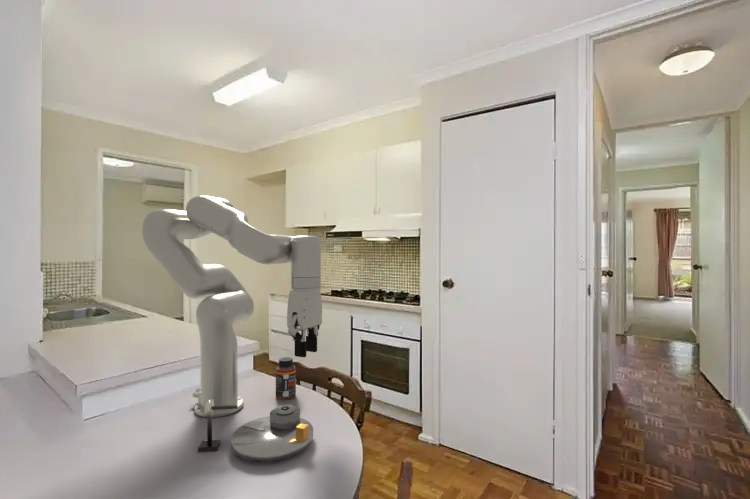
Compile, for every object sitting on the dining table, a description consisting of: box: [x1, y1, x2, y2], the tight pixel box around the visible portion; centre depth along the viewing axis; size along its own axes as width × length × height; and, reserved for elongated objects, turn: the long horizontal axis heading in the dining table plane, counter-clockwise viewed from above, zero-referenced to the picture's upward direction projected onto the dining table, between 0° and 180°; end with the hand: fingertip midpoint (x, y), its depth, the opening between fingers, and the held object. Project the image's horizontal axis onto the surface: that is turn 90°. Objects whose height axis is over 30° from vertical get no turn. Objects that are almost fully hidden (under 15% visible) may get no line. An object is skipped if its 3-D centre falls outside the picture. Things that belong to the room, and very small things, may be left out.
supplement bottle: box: [275, 356, 297, 401], centre depth 116 cm, size 6×6×11 cm
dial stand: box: [197, 399, 238, 453], centre depth 87 cm, size 8×4×11 cm, turn 97°
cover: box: [269, 404, 301, 431], centre depth 93 cm, size 7×7×4 cm
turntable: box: [230, 415, 314, 462], centre depth 89 cm, size 18×18×4 cm
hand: (306, 353), depth 101 cm, fingers open, 4 cm apart
